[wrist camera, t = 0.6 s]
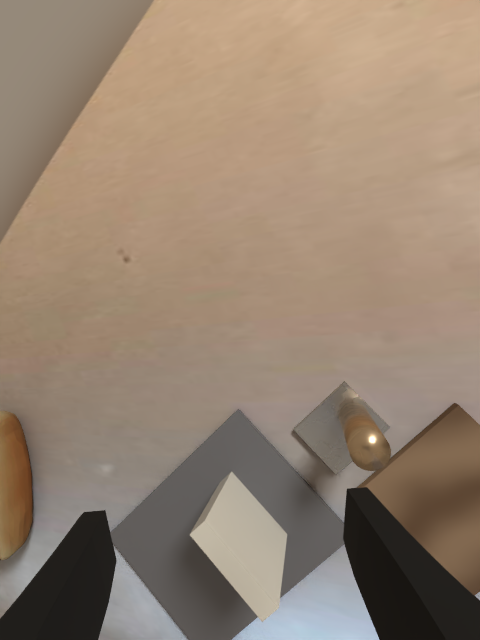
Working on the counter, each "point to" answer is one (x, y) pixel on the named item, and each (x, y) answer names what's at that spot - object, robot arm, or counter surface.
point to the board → (439, 492)
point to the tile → (243, 544)
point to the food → (14, 486)
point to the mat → (187, 506)
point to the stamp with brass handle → (346, 432)
